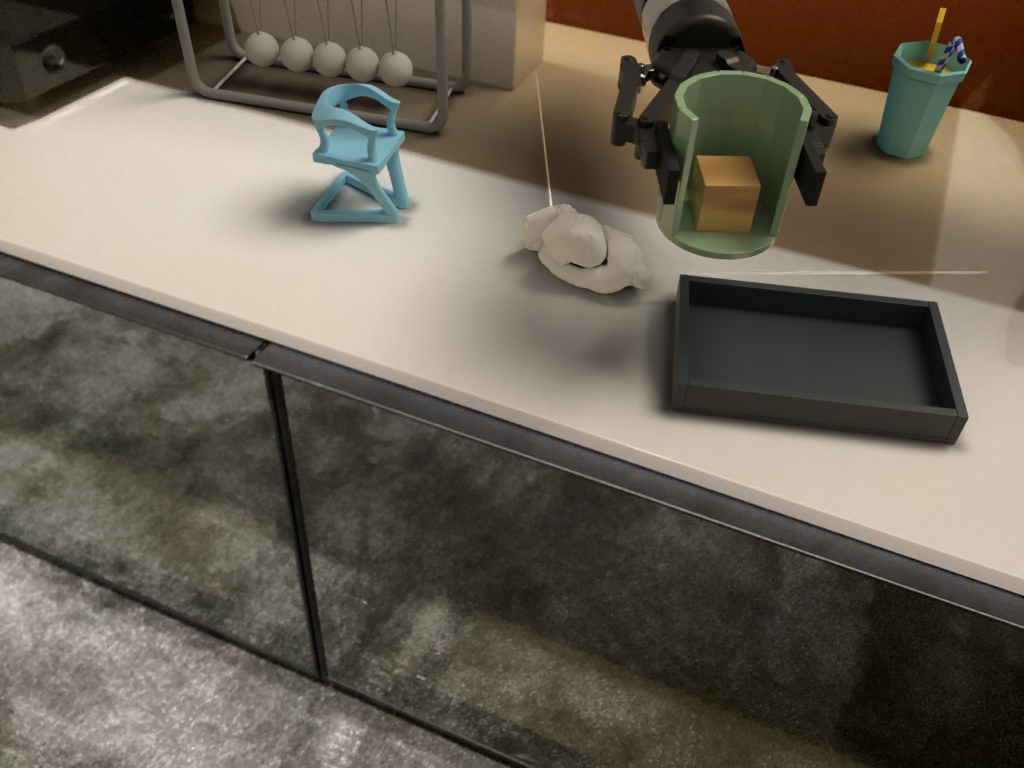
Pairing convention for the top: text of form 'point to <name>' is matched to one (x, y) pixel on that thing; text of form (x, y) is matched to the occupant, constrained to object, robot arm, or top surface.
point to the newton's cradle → (336, 63)
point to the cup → (920, 92)
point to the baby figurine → (585, 250)
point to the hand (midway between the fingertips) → (744, 188)
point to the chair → (359, 155)
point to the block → (723, 193)
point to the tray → (815, 359)
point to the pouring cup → (735, 153)
